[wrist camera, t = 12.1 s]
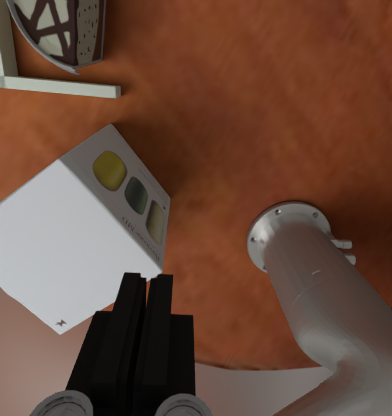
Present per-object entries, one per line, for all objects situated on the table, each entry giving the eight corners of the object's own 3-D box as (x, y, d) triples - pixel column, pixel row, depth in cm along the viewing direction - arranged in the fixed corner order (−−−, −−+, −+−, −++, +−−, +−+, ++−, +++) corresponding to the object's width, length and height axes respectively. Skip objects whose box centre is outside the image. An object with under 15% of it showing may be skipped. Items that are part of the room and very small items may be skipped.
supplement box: (173, 199, 42) (166, 274, 26) (104, 245, 45) (59, 338, 29) (111, 120, 38) (57, 154, 22) (37, 177, 40) (-58, 245, 25)
